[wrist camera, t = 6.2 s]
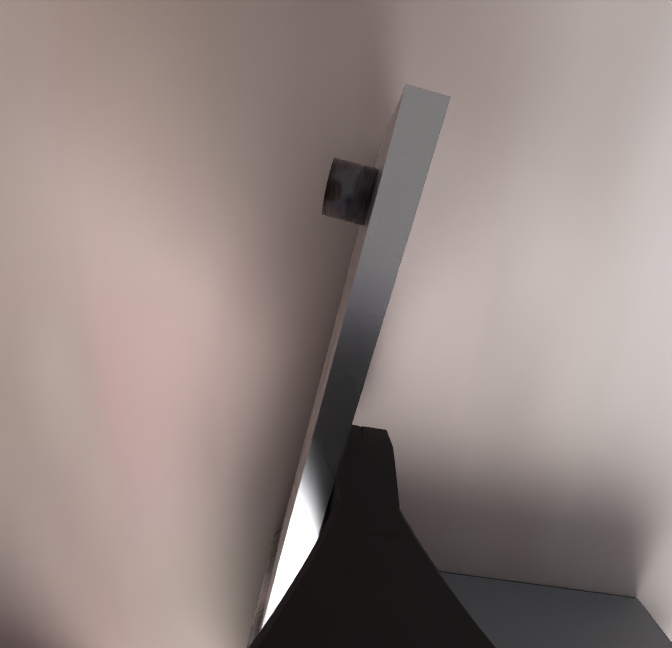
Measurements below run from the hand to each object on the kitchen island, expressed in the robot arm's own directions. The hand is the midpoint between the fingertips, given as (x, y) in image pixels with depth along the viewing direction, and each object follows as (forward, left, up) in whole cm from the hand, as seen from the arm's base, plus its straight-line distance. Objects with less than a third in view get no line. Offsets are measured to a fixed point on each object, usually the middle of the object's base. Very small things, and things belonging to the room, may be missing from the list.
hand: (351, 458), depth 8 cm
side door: (-1, +1, -1) cm, 2 cm away
